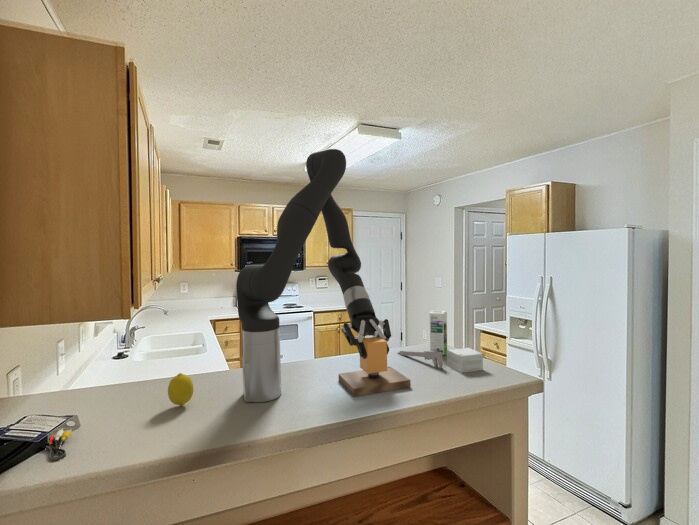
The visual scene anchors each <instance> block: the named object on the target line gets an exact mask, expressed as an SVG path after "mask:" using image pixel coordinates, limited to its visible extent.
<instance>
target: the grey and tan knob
mask: <svg viewBox="0 0 699 525" xmlns="http://www.w3.org/2000/svg"><path fill="white" fill-rule="evenodd" d="M368 378H371V379H376V378H379V372H377V373H370V374H368Z"/></svg>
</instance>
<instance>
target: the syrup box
mask: <svg viewBox="0 0 699 525" xmlns="http://www.w3.org/2000/svg"><path fill="white" fill-rule="evenodd" d="M434 348H439V350H440V352H441V353H442V356H447V350H448V312H447V310H430V312H429V351H434Z"/></svg>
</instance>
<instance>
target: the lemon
mask: <svg viewBox="0 0 699 525" xmlns="http://www.w3.org/2000/svg"><path fill="white" fill-rule="evenodd" d="M193 395H194V383H193V381H192V378H191V377H190V376H188V375H187V374H184V373H181V372H180V373H178V374H177V375H175V376H174V377H172V379H170V382H168V388H167V396H168V398H169V401H170V402H171V403H172V404H174V405H176V406H177V405H178V407H183V406H184V405H185V404H187V403H188V402H189V401H190V400H191V399H192V397H193Z"/></svg>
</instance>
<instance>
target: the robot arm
mask: <svg viewBox="0 0 699 525" xmlns="http://www.w3.org/2000/svg"><path fill="white" fill-rule="evenodd" d="M305 166H306V172H307V175H308V179H309V181H310V182H309V183H308V184H307V185H305V186H304V187H303V188H302V189H300V190H299V191H298V192H297V193H296V194H294V196H292V197H291V198H290V200H289V201H288V202H287V204H286V205H285V207H284V209H283V211H282V212H281V214H280V215H279V218H278V221H277V226H276V244H275V246H274V248H273V249H272V252H271V254H270V255H269V257H268V259H267V260H266V261H265V263H264V264H249V265H246V266H245V267H243V268H242V269H241V270H240V271H239V273H238V274H237V278H236V284H235V285H236V287H235V289H236V290H235V293H236V304H237V313H238V318H239V321H240V322H241V334H242V337H241V340H242V358H241V359H242V360H241V361H242V385H243V387H242V389H243V391H242V392H243V398H244V402H245V403H249V402H252V403H265V402H269V401H274V400H276V399H277V398H279V397H280V396H281V395H282V370H281V368H282V366H281V365H282V364H281V332H280V331H281V329H280V317H279V316H278V314H276V312H274V311H273V310H272V308H271V307H270V304H269V303H273V302H275V301H277V300H278V299H279V298H280V297H281V295H282V294H283V293H284V290H285V289H286V286H287V284H288V281H289V279H290V277H291V274H292V271H293V268H294V266H295V264H296V261H297V259H298V258H299V257H298V256H299V255H300V253H301V250H302V249H303V246H304V244H305V243H306V241H307V239H308V237H309V236H310V234H311V232H312V230H313V228H314V226H315V225H316V222H317V220H318V218H319V216H320V214H321V213H322V216H323V221H324V225H325V230H326V233H327V239H328V244H329V246H330V248H332V249H345V250H346V252H345V253H339V254H336V255H333V256H331V257H330V258H329V259H328V262H327V267H328V270H329V273H331V275H332V277H333V278H334V279H335V281H336V282H337V283H338V285H339V287H340V290H341V292H342V293H341V294H342V296H343V301H344V306H345V309H346V312H347V315H348V318H349V321H350V323H347V322H344V323H343V326H342V328H341V330H342V333H343V334H344V337H345V339H346V340H347V343H348V345H349V346H351V347H352V346H354V347H356V348H357V351H358V353H359V357H360V356H361V357H362V358H363V359H365V358H366V357H367V352H366V349H365V346H364V343H362V340H363V337H367V336H370V337H371V336H372V337H380V338H382V339H383V340H385V341H387V342H389V340H390V338H391V337H392V334H391V333H392V332H391V327H390V322H389V319H387V318H385V319H384V320H379V318H378V317H377V315H376V311H375V309H374V307H373V303H372V301H371V299H370V296H369V294H368V292H367V290H366V287H365V285H364V281H363V280H362V277H361V276H360V275H359V274H358V273H359V271H360V270H361V268H362V261H361V259H360V256H359V255H358V253H357V251H356V249H355V247H354V244H353V242H352V238H351V233H350V229H349V223H348V220H347V217H346V215H345V213H344V212H343V209H341V207H340V206H339V204H338V202H336V200H335V199H334V197H333V195H332V193H333V192H334V191H335V189H336V187H337V186H338V184H339V183H340V181H341V180H342V179H343V177H344V175H345V174H346V173H345V172H346V170H347V169H346V168H347V159H346V155H345V154H344V153H343V151H342V150H340V149H338V148H327V149H323V150H318V151H316V152H312V153H310V154H309V155H308V157H307V159H306V163H305ZM379 326H380V327H379ZM352 330H353V331H355V332H356V333H357V334H356V337H355V335H354V333H353V331H352ZM389 353H390V347H389V344H388V343H387V355H388V354H389Z"/></svg>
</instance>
